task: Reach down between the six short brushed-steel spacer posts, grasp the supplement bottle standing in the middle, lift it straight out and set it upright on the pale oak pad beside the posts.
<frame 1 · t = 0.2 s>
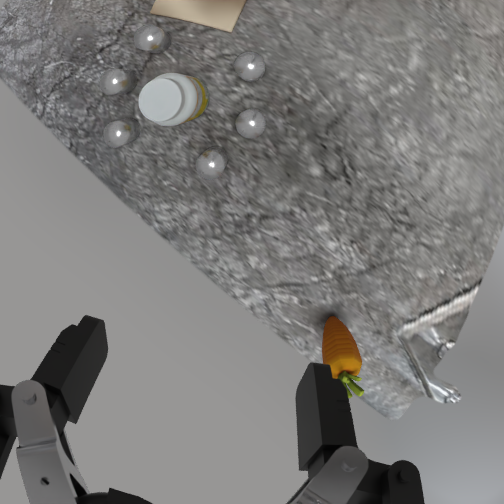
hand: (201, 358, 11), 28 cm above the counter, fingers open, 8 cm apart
carrot: (331, 316, 46), on the counter
supplement bottle: (186, 98, 32), on the counter
spacer posts: (186, 98, 32), on the counter
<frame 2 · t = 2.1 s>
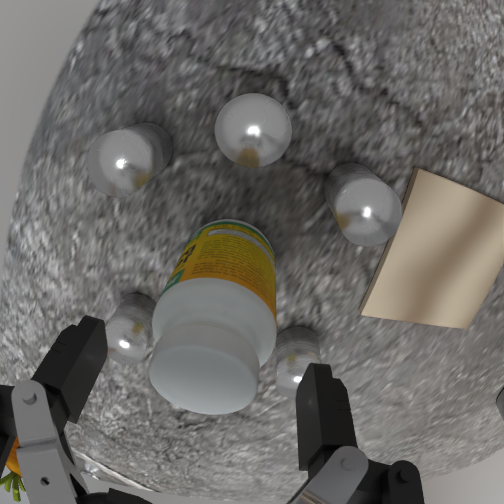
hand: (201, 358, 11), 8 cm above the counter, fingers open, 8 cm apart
pad: (448, 259, 18), on the counter
carrot: (48, 409, 32), on the counter
supplement bottle: (230, 256, 19), on the counter
spacer posts: (230, 258, 19), on the counter
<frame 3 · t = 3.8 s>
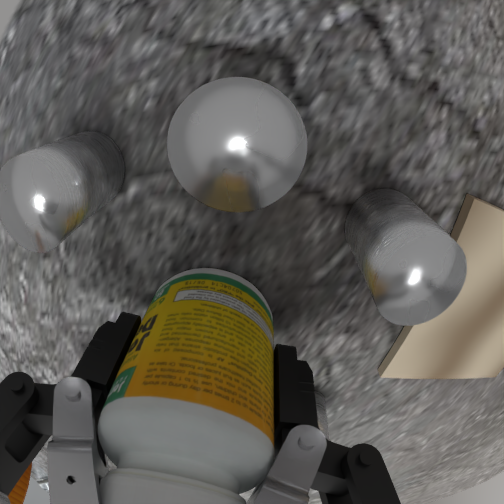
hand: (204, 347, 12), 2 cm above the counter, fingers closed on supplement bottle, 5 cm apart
pad: (488, 306, 13), on the counter
carrot: (29, 439, 26), on the counter
supplement bottle: (213, 312, 14), on the counter, touching gripper
spacer posts: (212, 315, 14), on the counter
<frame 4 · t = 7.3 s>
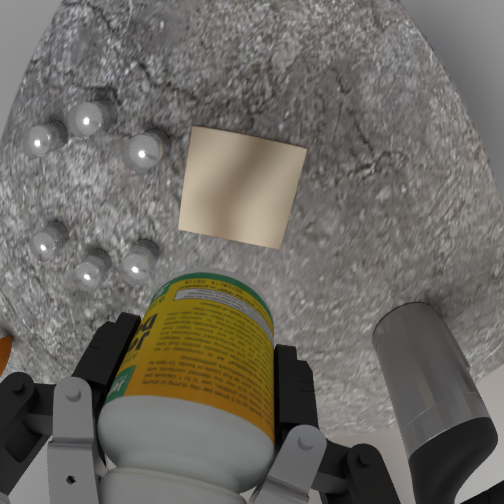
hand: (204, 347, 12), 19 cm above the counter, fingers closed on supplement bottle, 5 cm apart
pad: (239, 188, 29), on the counter
carrot: (11, 335, 42), on the counter
supplement bottle: (213, 311, 14), point 17 cm above the counter, touching gripper
spacer posts: (98, 193, 29), on the counter
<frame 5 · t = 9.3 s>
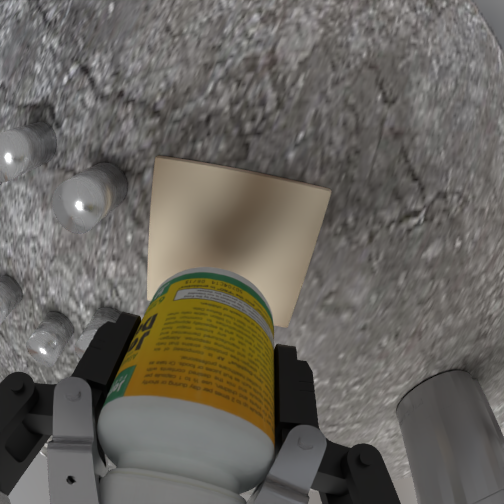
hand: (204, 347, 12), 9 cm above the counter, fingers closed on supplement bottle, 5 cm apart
pad: (228, 247, 20), on the counter
supplement bottle: (213, 311, 14), point 7 cm above the counter, touching gripper
spacer posts: (45, 246, 20), on the counter
when the fingers open (4 cm above the counter, at t = 11.2 s): supplement bottle drops 1 cm, resting on pad.
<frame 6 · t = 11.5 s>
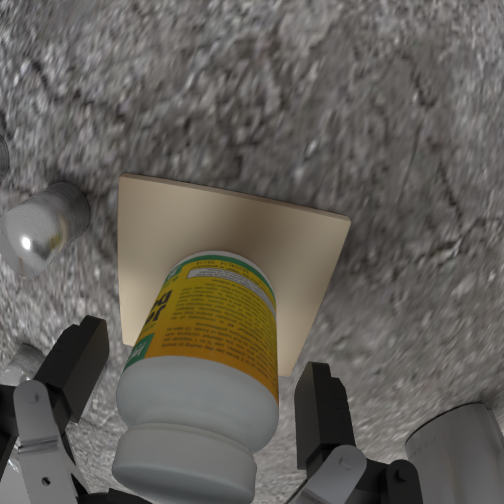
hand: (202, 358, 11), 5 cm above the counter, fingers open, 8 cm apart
pad: (217, 288, 16), on the counter
supplement bottle: (220, 293, 15), resting on pad
spacer posts: (9, 277, 16), on the counter
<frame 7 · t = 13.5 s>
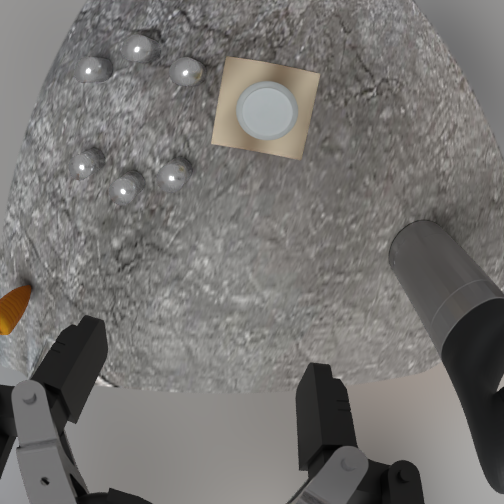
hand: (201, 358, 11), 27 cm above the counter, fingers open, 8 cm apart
pad: (264, 107, 32), on the counter
carrot: (30, 285, 45), on the counter
supplement bottle: (266, 107, 31), resting on pad
spacer posts: (138, 117, 32), on the counter
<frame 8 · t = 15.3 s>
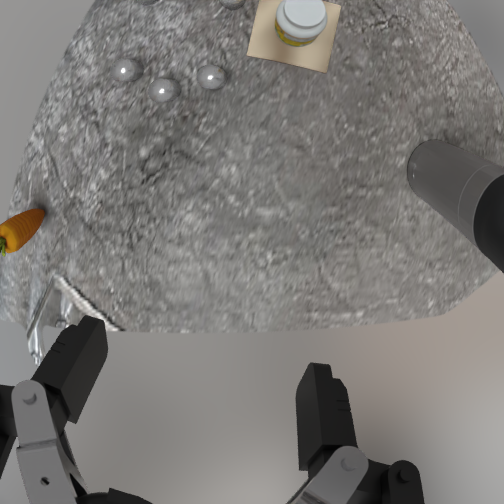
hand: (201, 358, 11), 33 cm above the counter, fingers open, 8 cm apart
pad: (294, 29, 32), on the counter
carrot: (44, 211, 45), on the counter
supplement bottle: (296, 28, 31), resting on pad
spacer posts: (180, 33, 32), on the counter
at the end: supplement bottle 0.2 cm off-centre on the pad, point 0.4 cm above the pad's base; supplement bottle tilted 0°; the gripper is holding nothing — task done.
